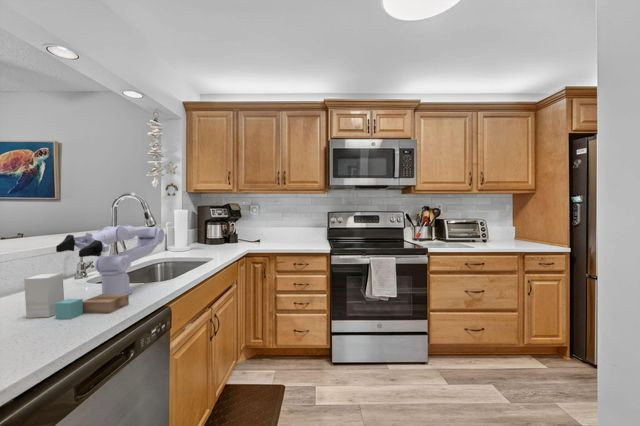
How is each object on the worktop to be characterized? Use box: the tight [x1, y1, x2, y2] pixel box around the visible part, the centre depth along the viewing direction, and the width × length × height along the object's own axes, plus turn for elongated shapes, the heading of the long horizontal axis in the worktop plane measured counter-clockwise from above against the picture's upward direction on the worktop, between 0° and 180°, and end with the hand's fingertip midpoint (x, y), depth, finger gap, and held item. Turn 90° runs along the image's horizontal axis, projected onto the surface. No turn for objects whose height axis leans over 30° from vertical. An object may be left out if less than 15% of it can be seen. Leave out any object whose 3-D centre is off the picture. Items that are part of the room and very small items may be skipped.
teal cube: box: [54, 298, 84, 320], centre depth 110 cm, size 5×5×5 cm
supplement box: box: [23, 273, 65, 319], centre depth 113 cm, size 7×7×13 cm
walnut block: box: [82, 293, 130, 315], centre depth 117 cm, size 10×10×4 cm
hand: (68, 251), depth 112 cm, fingers open, 7 cm apart
